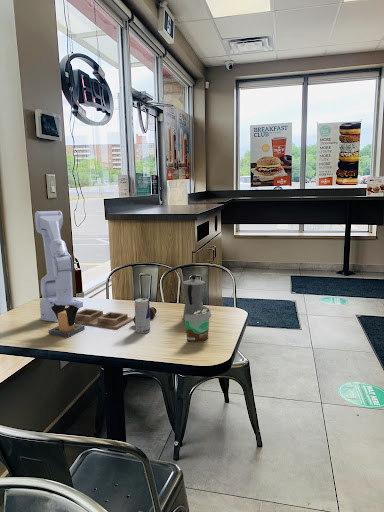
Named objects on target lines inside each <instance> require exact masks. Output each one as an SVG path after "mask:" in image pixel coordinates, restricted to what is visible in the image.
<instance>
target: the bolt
mask: <svg viewBox="0 0 384 512" xmlns="http://www.w3.org/2000/svg"><path fill="white" fill-rule="evenodd" d="M156 314H157V309H156V308H155V307H150V320H151V319H152V320H153V318H155V316H156ZM132 318H133V321H132V322H133V324H134V325H135V326H136V324H135V315H134V317H132Z"/></svg>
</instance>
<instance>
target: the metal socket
mask: <svg viewBox="0 0 384 512" xmlns="http://www.w3.org/2000/svg"><path fill="white" fill-rule="evenodd" d="M85 328H86V327H85V325H84V324H77V323H75V328H74V329H72V330H70V331H68V332H66V331H60V330H59V325H58V326H56V327H53V328H51V329H48V335H50V336H56V337H57V336H58V337H61V338H62V337H63V338H68V339H69V338H71V337H72V336H75V335H76V334H78V333H81V332H83V331H84V330H85Z"/></svg>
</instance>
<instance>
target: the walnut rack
mask: <svg viewBox="0 0 384 512" xmlns="http://www.w3.org/2000/svg"><path fill="white" fill-rule="evenodd" d="M133 318H134V317H128V313H123V312H116V311H108V312H106V313H104V310H100V309H92V308H91V309H90V308H84V309H83V310H79V311H77V314H76V317H75V321H74V323H75V324H77V325H83V326H85V325H86V326H91V327H98V328H104V329H112V330H119V329H121V328H122V327H124V326H126V325H128V324H129V323H131V322H134V321H133Z"/></svg>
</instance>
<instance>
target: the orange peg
mask: <svg viewBox="0 0 384 512" xmlns="http://www.w3.org/2000/svg"><path fill="white" fill-rule="evenodd" d="M57 323H58V326H59V330H60V331H66V332H68V331H70V330H72V329H74V328H75V324H76V323H74V325H72V326H69V324H68V317H67V313H66V311H63V312H60V313H58V322H57Z"/></svg>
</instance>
